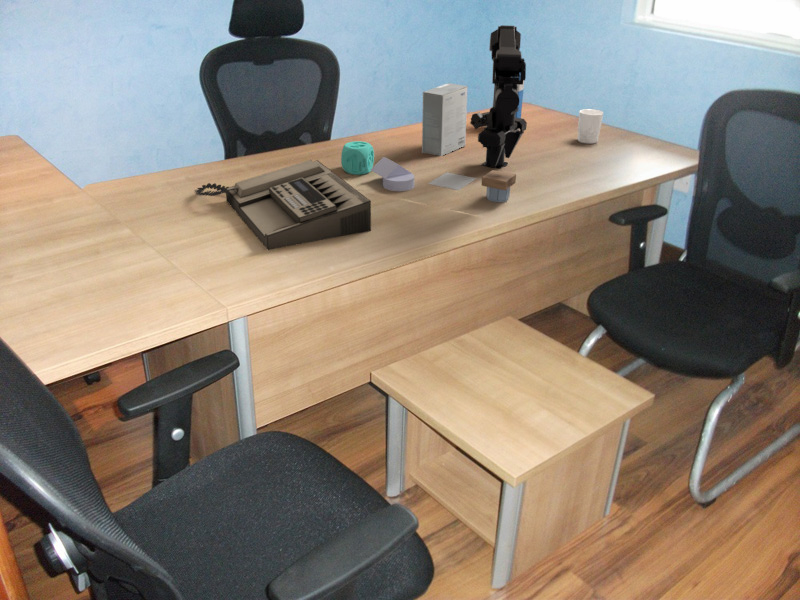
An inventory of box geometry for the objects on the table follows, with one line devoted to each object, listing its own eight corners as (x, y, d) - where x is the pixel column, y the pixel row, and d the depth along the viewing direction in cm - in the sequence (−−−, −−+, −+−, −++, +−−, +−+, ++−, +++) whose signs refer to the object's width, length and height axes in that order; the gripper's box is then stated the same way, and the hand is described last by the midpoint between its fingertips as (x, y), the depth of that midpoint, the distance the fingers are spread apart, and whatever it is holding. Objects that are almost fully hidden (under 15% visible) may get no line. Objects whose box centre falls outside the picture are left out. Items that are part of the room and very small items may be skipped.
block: (491, 178, 208) (492, 170, 207) (515, 182, 205) (516, 174, 204) (481, 185, 203) (482, 177, 201) (505, 190, 200) (506, 181, 198)
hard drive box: (446, 142, 253) (449, 82, 244) (465, 146, 250) (469, 85, 240) (420, 153, 242) (422, 91, 233) (440, 157, 238) (442, 94, 229)
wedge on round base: (370, 181, 218) (392, 194, 208) (370, 158, 215) (393, 171, 205) (396, 176, 222) (420, 189, 212) (397, 154, 219) (420, 166, 209)
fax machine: (189, 195, 207) (185, 162, 202) (306, 177, 221) (304, 146, 216) (235, 257, 172) (231, 219, 167) (370, 232, 186) (370, 196, 181)
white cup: (601, 144, 254) (605, 115, 249) (578, 144, 254) (581, 114, 249) (596, 137, 260) (600, 109, 256) (573, 137, 260) (577, 108, 256)
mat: (446, 173, 225) (446, 172, 224) (476, 179, 220) (476, 178, 220) (427, 184, 216) (427, 183, 215) (458, 191, 211) (458, 190, 211)
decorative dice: (341, 173, 224) (340, 147, 220) (349, 165, 230) (348, 140, 227) (367, 176, 222) (366, 149, 218) (374, 167, 229) (374, 142, 225)
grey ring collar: (492, 194, 209) (493, 179, 207) (511, 198, 207) (513, 183, 205) (483, 201, 205) (484, 185, 203) (503, 205, 202) (504, 189, 200)
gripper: (491, 93, 204) (487, 148, 211) (461, 106, 190) (458, 166, 197) (529, 98, 199) (524, 155, 206) (501, 112, 185) (496, 173, 192)
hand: (500, 162), depth 201 cm, fingers open, 9 cm apart
